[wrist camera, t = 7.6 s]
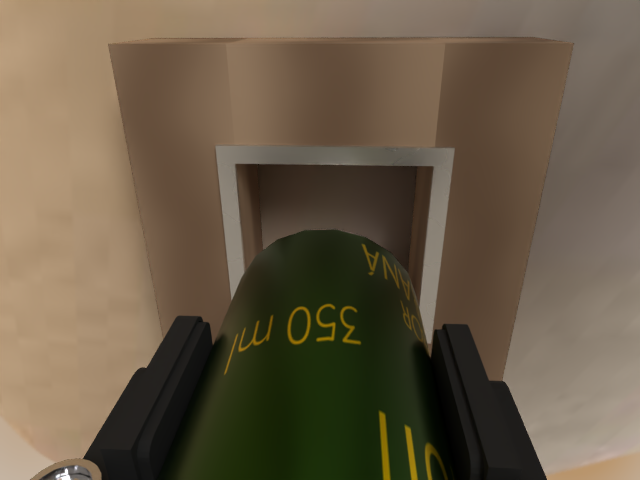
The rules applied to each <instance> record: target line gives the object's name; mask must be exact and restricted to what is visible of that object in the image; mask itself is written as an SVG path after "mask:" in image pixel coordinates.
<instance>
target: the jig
mask: <svg viewBox="0 0 640 480" xmlns="http://www.w3.org/2000/svg"><path fill="white" fill-rule="evenodd" d="M573 45H574V43H569V42H562V41H555V40H548V39H541V38H535V37H455V38H151V39H144V40H136V41H129V42H121V43H114V44H108V46H109V51H110V57H111V62H112V67H113V73H114V78H115V83H116V89H117V94H118V99H119V105H120V110H121V115H122V121H123V126H124V131H125V137H126V142H127V147H128V153H129V158H130V163H131V169H132V174H133V179H134V185H135V190H136V195H137V200H138V206H139V211H140V216H141V222H142V227H143V232H144V238H145V243H146V248H147V254H148V259H149V264H150V270H151V275H152V280H153V286H154V291H155V296H156V302H157V307H158V312H159V318H160V323H161V328H162V334H163V339H164V337H165V336H166V334H167V332H168V330H169V329H170V327H171V325H172V324H173V322H174V320H175V318H176V317H177V316H179V315H182V316H201V317H202V319H203V322H209V324H210V327H211V335H212V343H213V344H214V342H215V339H216V337H217V335H218V332H219V330H220V328H221V325H222V323H223V320H224V318H225V316H226V313H227V311H228V308H229V306H230V304H231V301H232V300H231V291H230V281H229V271H228V262H227V252H226V243H225V233H224V224H223V214H222V204H221V195H220V185H219V176H218V166H217V157H216V147H215V146H216V145H217V144H238V145H332V146H426V147H454V148H455V150H454V159H453V167H452V175H451V183H450V192H449V200H448V208H447V216H446V224H445V233H444V241H443V249H442V257H441V266H440V274H439V282H438V290H437V298H436V307H435V315H434V323H433V331H432V340H431V344H429V343H427V344H428V348H429V353H430V357H431V351H432V343H433V335H434V330H435V329H442V326H443V324H467V325H468V326H469V328H470V331H471V334H472V336H473V339H474V342H475V344H476V347H477V350H478V352H479V355H480V358H481V360H482V363H483V366H484V368H485V371H486V374H487V376H488V379H489V381H502V379H503V374H504V369H505V364H506V360H507V355H508V350H509V346H510V341H511V336H512V332H513V327H514V322H515V318H516V313H517V308H518V303H519V299H520V294H521V289H522V285H523V280H524V275H525V271H526V266H527V261H528V257H529V252H530V247H531V242H532V238H533V233H534V228H535V224H536V219H537V214H538V210H539V205H540V200H541V196H542V191H543V186H544V181H545V177H546V172H547V167H548V163H549V158H550V153H551V149H552V144H553V139H554V135H555V130H556V125H557V120H558V116H559V111H560V106H561V102H562V97H563V92H564V88H565V83H566V78H567V73H568V69H569V64H570V59H571V55H572V50H573ZM236 166H237V178H238V189H239V201H240V212H241V224H242V236H243V247H244V259H245V270H247V268H248V267H249V265H250V264H251V262H252V261H253V259H254V258H255V256H256V255H258V254H259V253H260V252H262V251H263V244H262V229H261V213H260V198H259V183H258V168H257V164H236ZM432 169H433V166H417V174H416V186H415V197H414V209H413V220H412V232H411V243H410V254H409V266H408V274H409V277H410V280H411V283H412V285H413V288H414V291H415V294H416V297H417V301H418V305H419V296H420V286H421V277H422V267H423V257H424V247H425V238H426V228H427V218H428V208H429V199H430V189H431V179H432Z"/></svg>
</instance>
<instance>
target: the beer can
mask: <svg viewBox="0 0 640 480" xmlns="http://www.w3.org/2000/svg"><path fill="white" fill-rule="evenodd" d="M157 480H459V478H458V474H457V470H456V465H455V461H454V457H453V452H452V448H451V444H450V439H449V435H448V431H447V426H446V422H445V418H444V413H443V409H442V405H441V400H440V396H439V392H438V387H437V383H436V379H435V374H434V370H433V366H432V361H431V357H430V353H429V348H428V344H427V340H426V335H425V331H424V327H423V322H422V318H421V314H420V309H419V305H418V301H417V297H416V294H415V291H414V288H413V285H412V283H411V280H410V277H409V274H408V273H407V271H406V270H405V269H404V268H403V267H402V265H401V264H400V263H399V262H398V261H397V259H396V258H395V257H394V256H393V255H392V253H391V252H389V251H387V250H386V249H384V248H383V247H381V246H379V245H378V244H376V243H375V242H373V241H371V240H370V239H368V238H366V237H364V236H362V235H359V234H355V233H351V232H347V231H343V230H339V229H336V228H335V229H309V230H305V231H302V232H299V233H296V234H293V235H290V236H287V237H284V238H281V239H278V240H276V241H275V242H274V243H272V244H271V245H270V246H268V247H267V248H266V249H264V250H263V251H262V252H260V253H259V254H258V255H256V256H255V258H254V259H253V261H252V262H251V264H250V265H249V267H248V268H247V270H246V271H245V273H244V274H243V276H242V277H241V280H240V282H239V285H238V287H237V289H236V292H235V294H234V296H233V299H232V301H231V304H230V306H229V308H228V311H227V313H226V316H225V318H224V320H223V323H222V325H221V328H220V330H219V332H218V335H217V337H216V339H215V342H214V344H213V347H212V349H211V351H210V354H209V356H208V359H207V361H206V363H205V366H204V368H203V371H202V373H201V375H200V378H199V380H198V382H197V385H196V387H195V390H194V392H193V394H192V397H191V399H190V402H189V404H188V406H187V409H186V411H185V413H184V416H183V418H182V421H181V423H180V425H179V428H178V430H177V433H176V435H175V437H174V440H173V442H172V445H171V447H170V449H169V452H168V454H167V456H166V459H165V461H164V464H163V466H162V468H161V471H160V473H159V476H158V478H157Z"/></svg>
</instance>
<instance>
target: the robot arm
mask: <svg viewBox="0 0 640 480" xmlns="http://www.w3.org/2000/svg"><path fill="white" fill-rule="evenodd" d="M212 347H213V343H212V335H211V327H210V324H209V322H203V319H202V317H201V316H182V315H179V316H177V317H176V318H175V320H174V322H173V324H172V325H171V327H170V329H169V330H168V332H167V334H166V336H165V337H164V339H163V341H162V343H161V344H160V346H159V348H158V350H157V351H156V353H155V355H154V356H153V358H152V360H151V362H150V363H149V365H148V367H147V368H140V369H138V370H137V371H136V372H135V373H134V375H133V377H132V378H131V380H130V381H129V383H128V385H127V386H126V388H125V390H124V391H123V393H122V395H121V396H120V398H119V400H118V401H117V403H116V405H115V406H114V408H113V410H112V411H111V413H110V415H109V416H108V418H107V420H106V421H105V423H104V425H103V426H102V428H101V430H100V431H99V433H98V434H97V436H96V438H95V439H94V441H93V443H92V444H91V446H90V448H89V449H88V451H87V453H86V454H85V456H84V458H83V459H80V458H79V459H67V460H64V461H61V462H58V463H55V464H53V465H51V466H49V467H47V468H45V469H44V470H42V471H41V472H39V473H38V474H37V475H35V476H34V477H33V478H32V479H30V480H157V478H158V476H159V473H160V471H161V468H162V466H163V464H164V461H165V459H166V456H167V454H168V452H169V449H170V447H171V445H172V442H173V440H174V437H175V435H176V433H177V430H178V428H179V425H180V423H181V421H182V418H183V416H184V413H185V411H186V409H187V406H188V404H189V402H190V399H191V397H192V394H193V392H194V390H195V387H196V385H197V382H198V380H199V378H200V375H201V373H202V371H203V368H204V366H205V363H206V361H207V359H208V356H209V354H210V351H211V349H212ZM431 361H432V366H433V370H434V374H435V379H436V383H437V387H438V392H439V396H440V400H441V405H442V409H443V413H444V418H445V422H446V426H447V431H448V435H449V439H450V444H451V448H452V452H453V457H454V461H455V465H456V470H457V474H458V478H459V480H547V478H546V476H545V474H544V471H543V469H542V466H541V464H540V462H539V459H538V457H537V454H536V452H535V450H534V447H533V445H532V443H531V440H530V438H529V435H528V433H527V431H526V428H525V426H524V423H523V421H522V419H521V416H520V414H519V412H518V409H517V407H516V404H515V402H514V400H513V397H512V395H511V393H510V390H509V388H508V386H507V384H506V383H505V382H504V381H489V379H488V376H487V374H486V371H485V368H484V366H483V363H482V360H481V358H480V355H479V352H478V350H477V347H476V344H475V342H474V339H473V336H472V334H471V331H470V328H469V326H468V325H467V324H443V326H442V329H435V330H434V335H433V343H432V351H431Z"/></svg>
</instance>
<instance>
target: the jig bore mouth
mask: <svg viewBox="0 0 640 480" xmlns="http://www.w3.org/2000/svg"><path fill="white" fill-rule="evenodd" d="M215 147H216V157H217V166H218V176H219V185H220V195H221V204H222V214H223V224H224V233H225V243H226V252H227V262H228V271H229V281H230V291H231V300H232V299H233V296H234V294H235V292H236V289H237V287H238V285H239V282H240V280H241V277H242V276H243V274H244V273H245V271H246V270H245V259H244V247H243V236H242V224H241V212H240V201H239V189H238V178H237V166H236V164H300V165H376V166H433V169H432V179H431V189H430V199H429V208H428V218H427V228H426V238H425V247H424V257H423V267H422V277H421V286H420V296H419V309H420V314H421V318H422V322H423V327H424V331H425V335H426V340H427V343H429V344H431V340H432V331H433V323H434V315H435V307H436V298H437V290H438V282H439V274H440V266H441V257H442V249H443V241H444V233H445V224H446V216H447V208H448V200H449V192H450V183H451V175H452V167H453V159H454V150H455V148H454V147H426V146H332V145H238V144H217V145H216V146H215Z"/></svg>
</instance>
